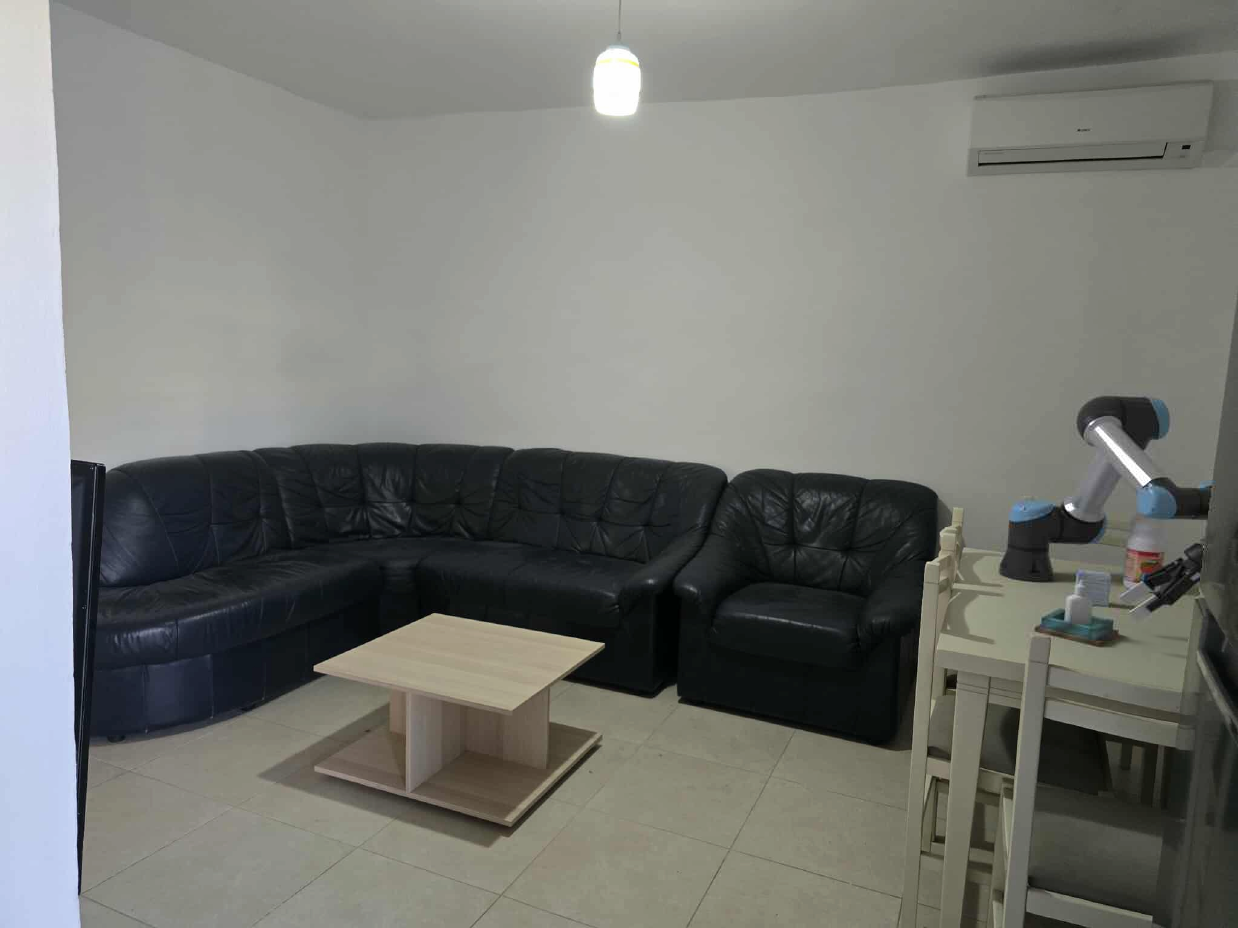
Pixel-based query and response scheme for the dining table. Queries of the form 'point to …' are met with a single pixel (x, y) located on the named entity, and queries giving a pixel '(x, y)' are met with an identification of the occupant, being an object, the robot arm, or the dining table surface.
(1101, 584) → the medicine box
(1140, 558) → the fruit juice
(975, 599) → the dining table surface
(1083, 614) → the eye dropper bottle
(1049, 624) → the bottle stand
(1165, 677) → the dining table surface
